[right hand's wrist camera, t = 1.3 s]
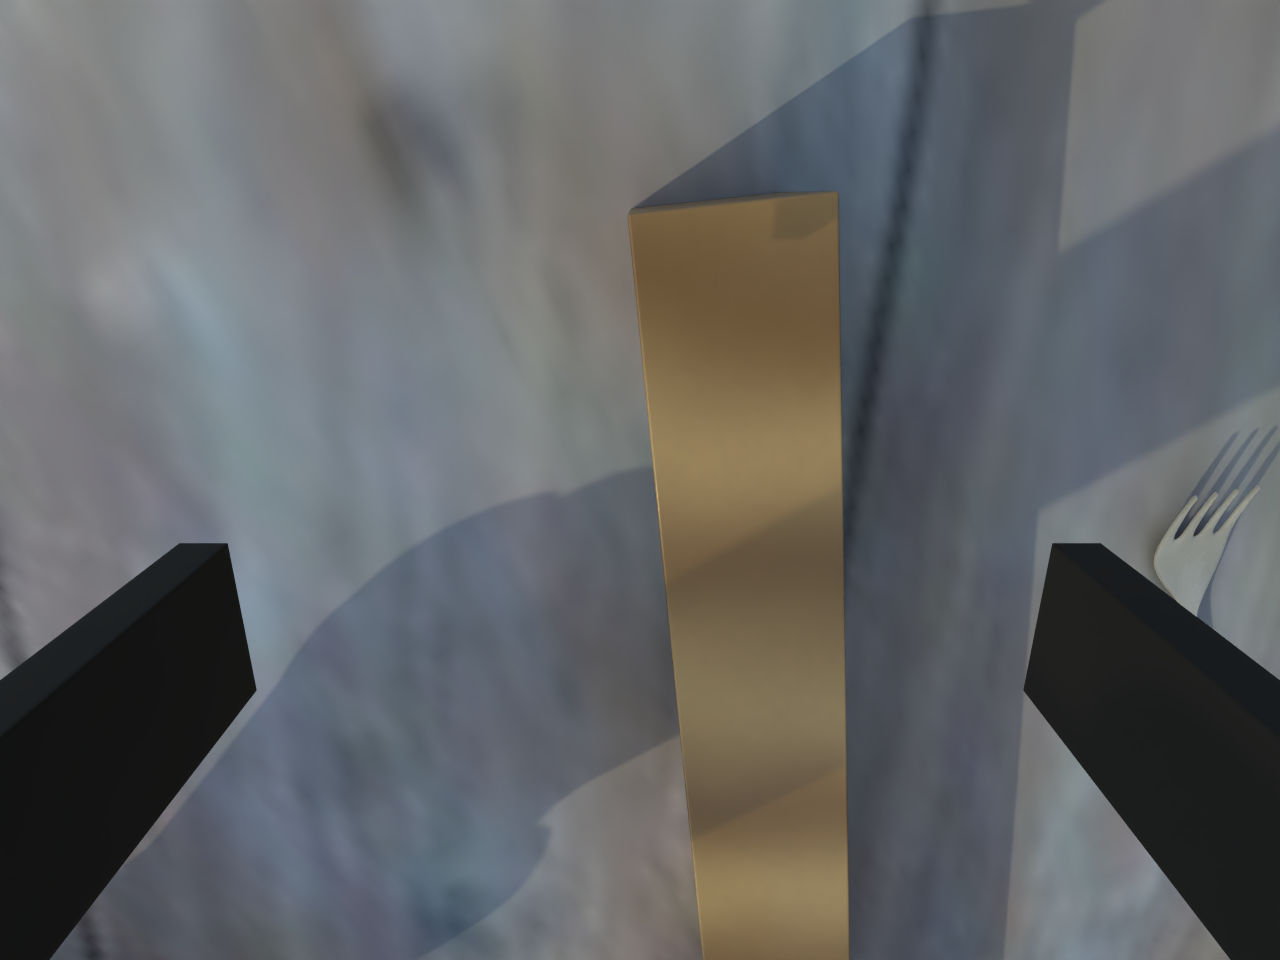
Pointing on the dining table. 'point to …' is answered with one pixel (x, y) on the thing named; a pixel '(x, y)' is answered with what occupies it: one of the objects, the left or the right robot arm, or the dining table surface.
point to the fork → (1195, 550)
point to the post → (753, 555)
